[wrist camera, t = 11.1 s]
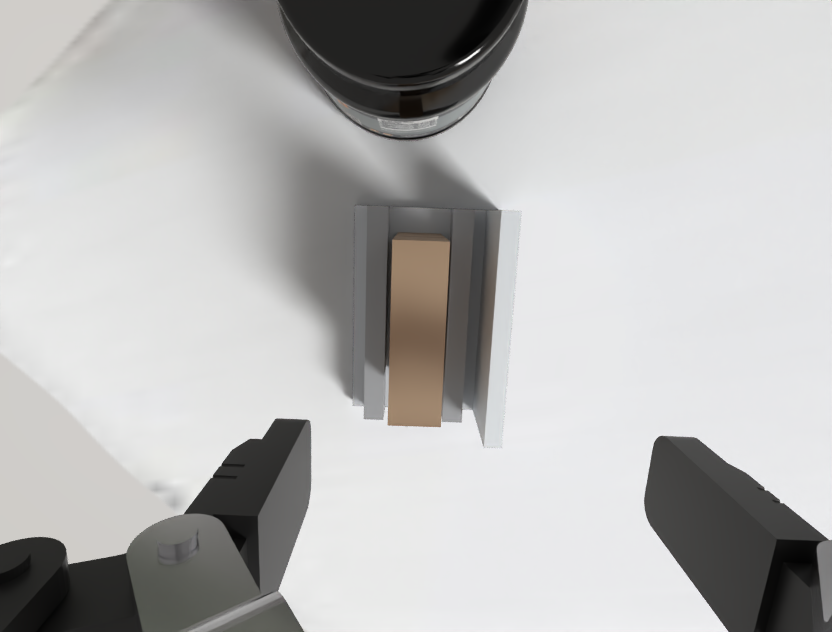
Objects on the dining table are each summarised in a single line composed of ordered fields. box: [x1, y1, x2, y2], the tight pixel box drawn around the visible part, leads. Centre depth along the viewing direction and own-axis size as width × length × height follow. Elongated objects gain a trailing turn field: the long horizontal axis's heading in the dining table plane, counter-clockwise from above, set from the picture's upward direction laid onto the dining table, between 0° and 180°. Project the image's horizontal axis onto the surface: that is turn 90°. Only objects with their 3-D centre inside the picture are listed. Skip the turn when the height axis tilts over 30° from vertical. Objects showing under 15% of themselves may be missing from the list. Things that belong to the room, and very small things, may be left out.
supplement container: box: [277, 0, 528, 141], centre depth 22 cm, size 10×10×12 cm
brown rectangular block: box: [388, 232, 450, 427], centre depth 26 cm, size 9×3×8 cm, turn 178°
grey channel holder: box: [353, 205, 522, 448], centre depth 28 cm, size 13×9×6 cm
